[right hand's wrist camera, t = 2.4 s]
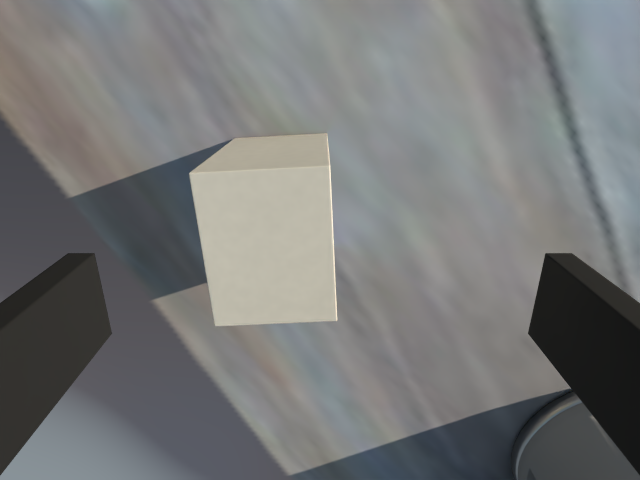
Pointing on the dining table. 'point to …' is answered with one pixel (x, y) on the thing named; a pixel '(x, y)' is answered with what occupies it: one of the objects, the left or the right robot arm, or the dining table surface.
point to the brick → (267, 230)
